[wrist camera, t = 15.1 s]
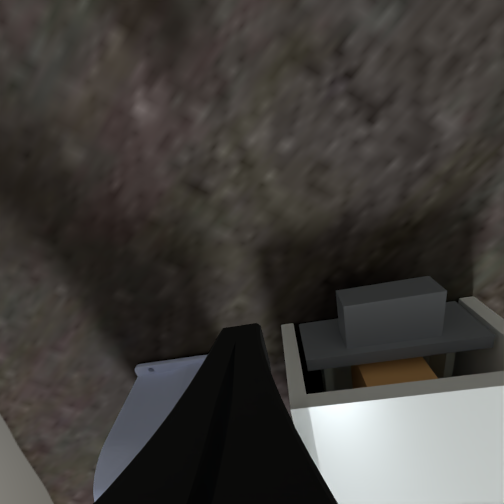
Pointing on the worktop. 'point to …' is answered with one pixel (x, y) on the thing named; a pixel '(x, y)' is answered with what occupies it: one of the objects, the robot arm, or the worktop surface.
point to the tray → (391, 330)
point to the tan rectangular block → (391, 372)
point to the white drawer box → (410, 429)
